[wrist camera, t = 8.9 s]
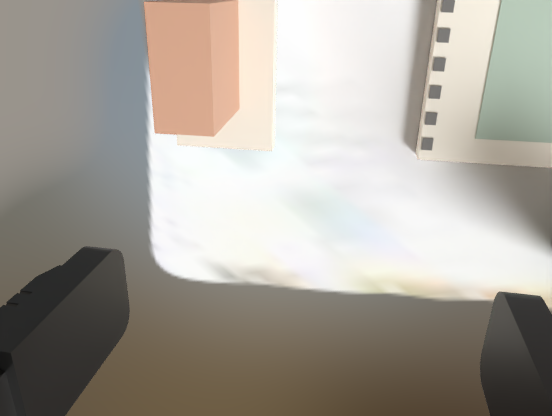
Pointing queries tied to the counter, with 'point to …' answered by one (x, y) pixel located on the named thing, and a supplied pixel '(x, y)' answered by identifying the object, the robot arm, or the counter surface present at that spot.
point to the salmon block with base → (214, 71)
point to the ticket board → (489, 84)
